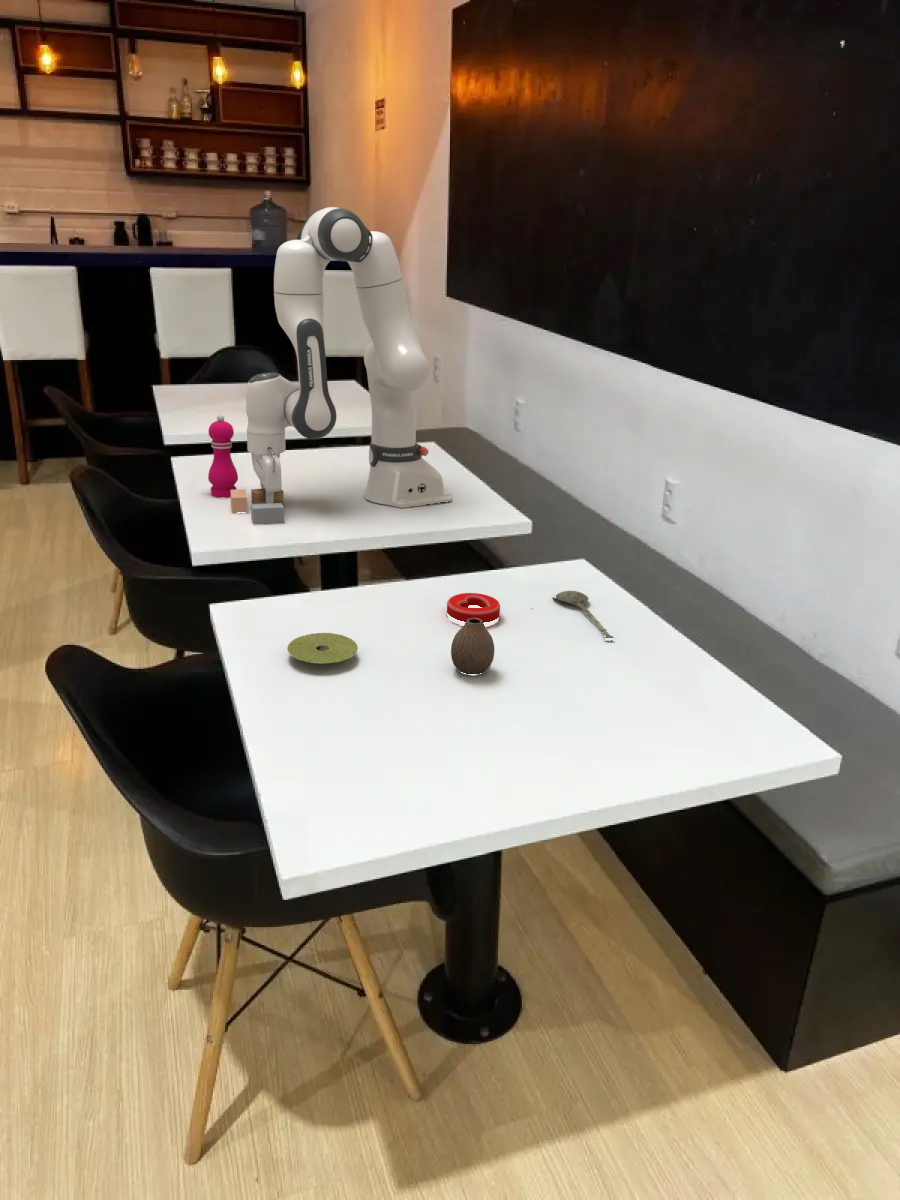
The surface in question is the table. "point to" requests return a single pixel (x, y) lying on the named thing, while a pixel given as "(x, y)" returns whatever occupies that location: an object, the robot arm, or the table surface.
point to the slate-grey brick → (267, 513)
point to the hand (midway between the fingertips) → (267, 499)
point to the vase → (472, 648)
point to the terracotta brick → (238, 500)
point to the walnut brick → (259, 496)
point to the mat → (322, 648)
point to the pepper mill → (222, 459)
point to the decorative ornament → (460, 610)
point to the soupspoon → (580, 605)
